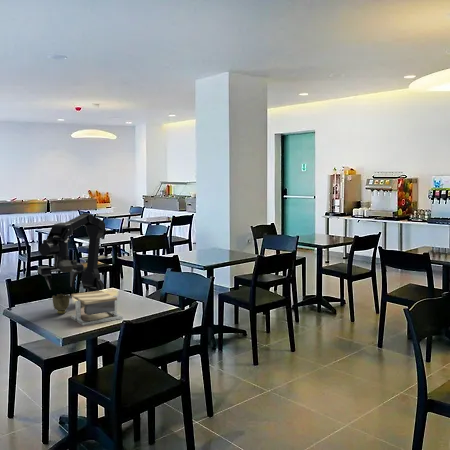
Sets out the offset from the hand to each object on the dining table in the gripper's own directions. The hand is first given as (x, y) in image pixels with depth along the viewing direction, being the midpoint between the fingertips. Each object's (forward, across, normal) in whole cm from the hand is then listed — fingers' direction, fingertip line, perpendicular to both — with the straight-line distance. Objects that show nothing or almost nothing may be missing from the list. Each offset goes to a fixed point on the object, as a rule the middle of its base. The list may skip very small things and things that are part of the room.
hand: (61, 288), depth 222 cm
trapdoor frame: (+11, +10, -15) cm, 21 cm away
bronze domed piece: (+12, 0, 0) cm, 12 cm away
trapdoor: (+8, +10, -12) cm, 17 cm away
